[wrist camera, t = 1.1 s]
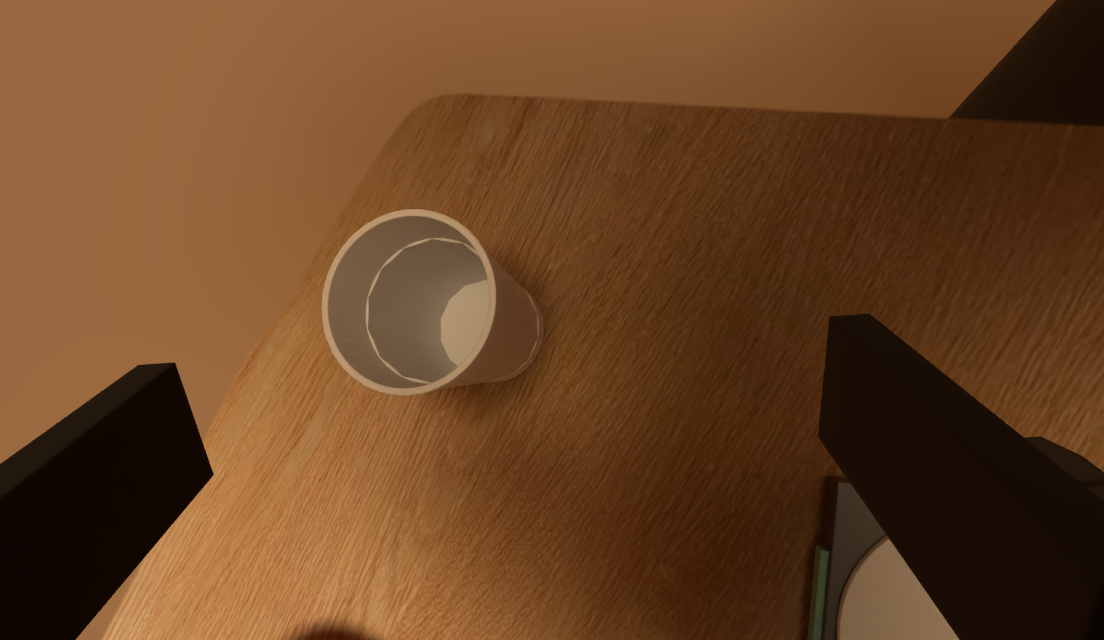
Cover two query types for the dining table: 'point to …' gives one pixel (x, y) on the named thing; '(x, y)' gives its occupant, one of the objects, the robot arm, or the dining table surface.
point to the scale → (865, 580)
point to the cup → (426, 308)
